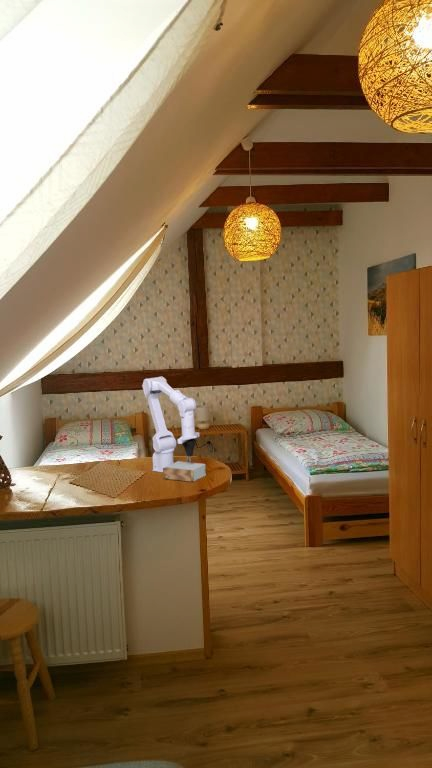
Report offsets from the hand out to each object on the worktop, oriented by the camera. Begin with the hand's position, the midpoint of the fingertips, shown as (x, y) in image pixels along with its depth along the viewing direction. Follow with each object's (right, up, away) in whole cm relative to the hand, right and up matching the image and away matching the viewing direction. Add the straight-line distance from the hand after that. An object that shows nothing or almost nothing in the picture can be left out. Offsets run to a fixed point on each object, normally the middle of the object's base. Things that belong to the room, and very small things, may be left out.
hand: (189, 456), depth 252 cm
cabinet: (-2, -10, +4) cm, 11 cm away
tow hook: (+2, -8, +19) cm, 21 cm away
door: (-5, -10, -2) cm, 12 cm away
